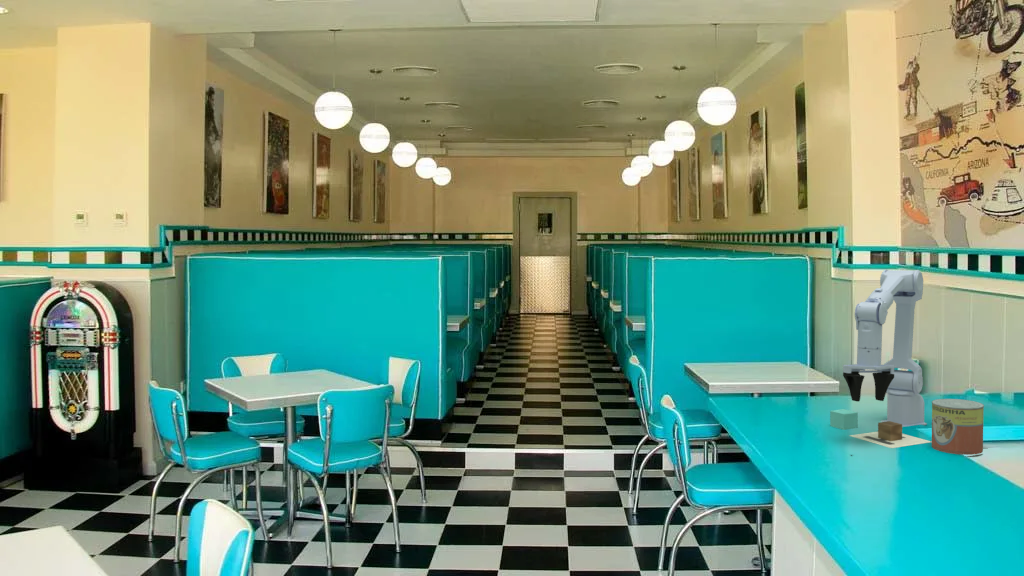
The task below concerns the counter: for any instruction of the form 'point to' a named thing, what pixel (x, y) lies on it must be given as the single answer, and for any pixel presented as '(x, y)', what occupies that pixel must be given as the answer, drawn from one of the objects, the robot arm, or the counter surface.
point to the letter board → (905, 441)
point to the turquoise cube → (844, 419)
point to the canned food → (957, 426)
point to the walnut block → (890, 431)
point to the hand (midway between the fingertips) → (867, 400)
